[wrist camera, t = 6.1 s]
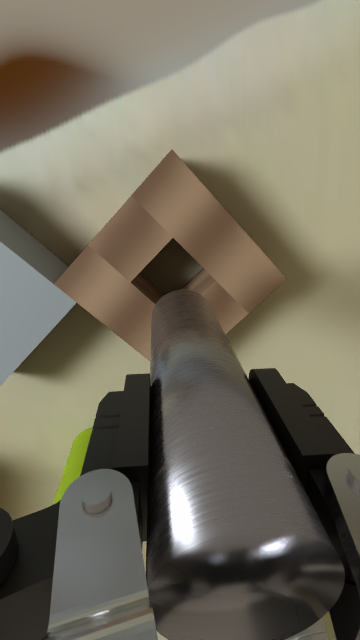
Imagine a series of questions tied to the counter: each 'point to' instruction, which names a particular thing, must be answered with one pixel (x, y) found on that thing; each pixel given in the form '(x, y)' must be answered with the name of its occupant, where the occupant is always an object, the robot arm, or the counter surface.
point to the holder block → (148, 240)
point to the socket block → (26, 294)
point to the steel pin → (224, 496)
